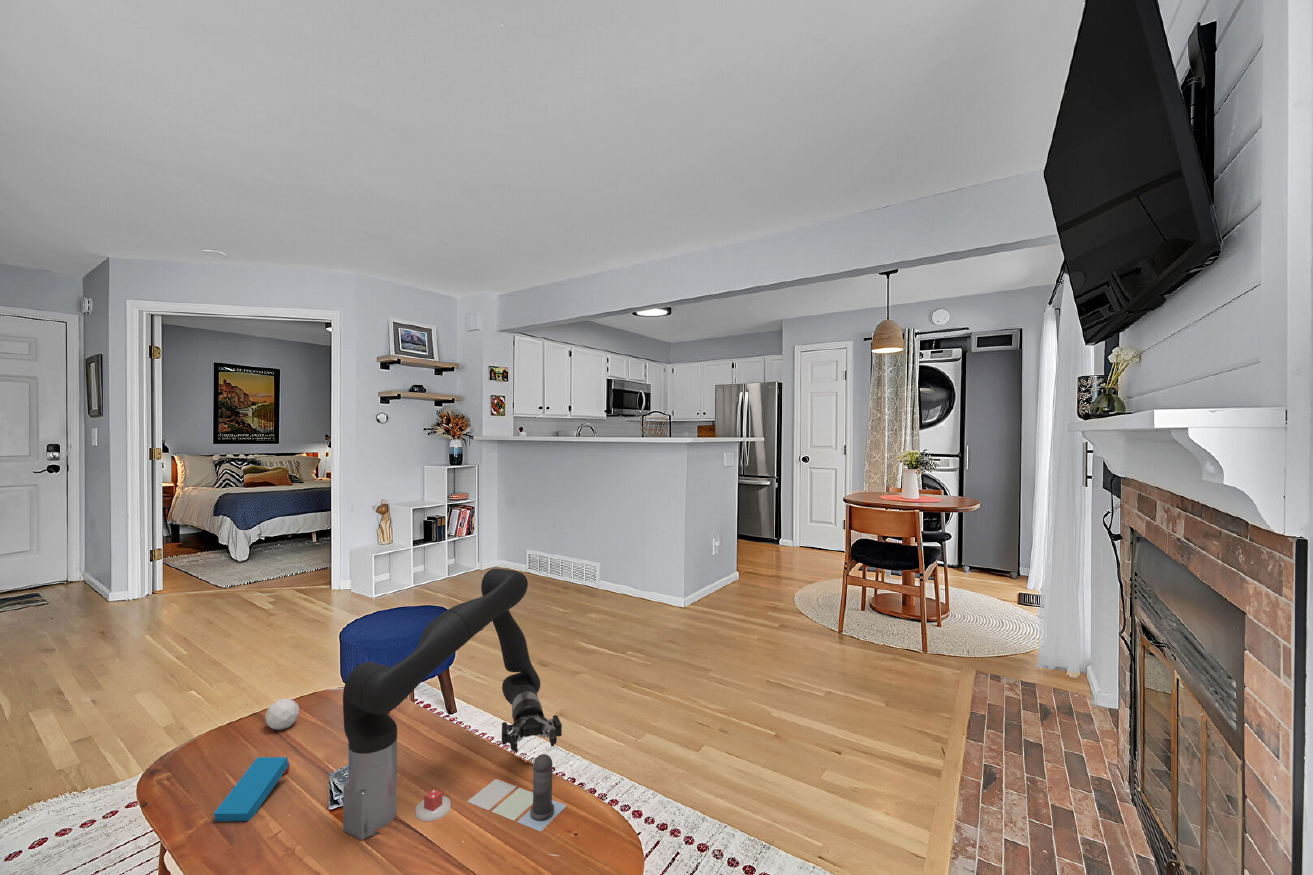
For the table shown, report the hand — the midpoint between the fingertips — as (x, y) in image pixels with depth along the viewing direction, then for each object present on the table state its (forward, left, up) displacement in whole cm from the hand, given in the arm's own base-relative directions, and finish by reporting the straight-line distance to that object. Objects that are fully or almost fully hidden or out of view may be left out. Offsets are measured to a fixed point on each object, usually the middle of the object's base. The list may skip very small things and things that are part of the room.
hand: (534, 745), depth 133 cm
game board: (-8, -1, -10) cm, 13 cm away
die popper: (-18, +13, -10) cm, 24 cm away
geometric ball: (-11, +78, -10) cm, 79 cm away
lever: (-31, +53, -11) cm, 62 cm away
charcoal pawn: (-8, -8, -9) cm, 14 cm away
